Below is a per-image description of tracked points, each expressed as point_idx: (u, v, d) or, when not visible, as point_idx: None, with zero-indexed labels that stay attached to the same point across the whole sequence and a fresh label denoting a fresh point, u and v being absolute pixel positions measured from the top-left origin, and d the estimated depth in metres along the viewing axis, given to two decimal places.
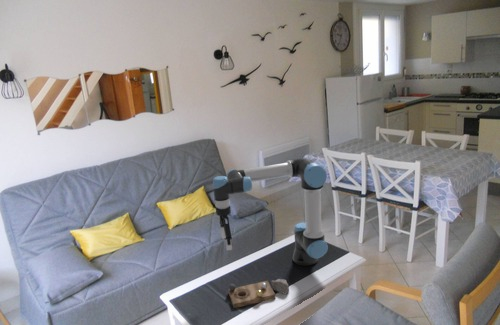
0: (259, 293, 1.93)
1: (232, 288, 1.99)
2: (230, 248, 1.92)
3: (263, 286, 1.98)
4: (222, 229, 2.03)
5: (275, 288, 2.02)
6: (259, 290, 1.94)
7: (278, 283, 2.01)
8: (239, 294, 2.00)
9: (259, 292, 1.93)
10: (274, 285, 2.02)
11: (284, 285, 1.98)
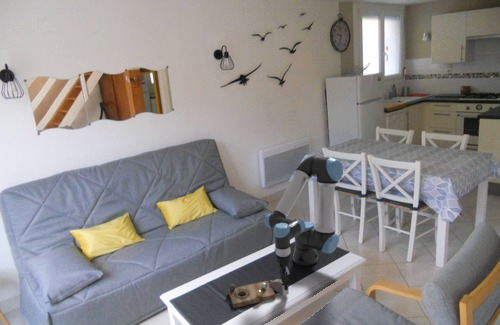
0: (259, 293, 1.93)
1: (232, 288, 1.99)
2: (287, 293, 1.96)
3: (263, 286, 1.98)
4: (284, 285, 1.95)
5: (273, 288, 2.01)
6: (259, 290, 1.94)
7: (276, 283, 2.00)
8: (239, 294, 2.00)
9: (259, 292, 1.93)
10: (272, 285, 2.02)
11: None
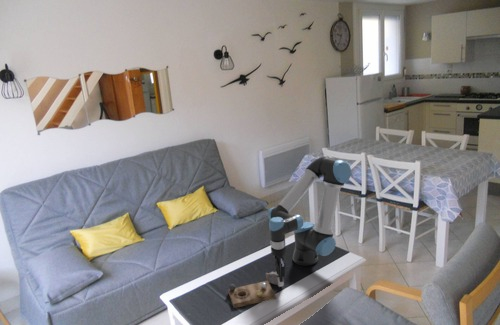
0: (259, 293, 1.93)
1: (232, 288, 1.99)
2: (282, 284, 2.03)
3: (263, 286, 1.98)
4: None
5: (269, 280, 2.09)
6: (259, 290, 1.94)
7: (272, 275, 2.08)
8: (239, 294, 2.00)
9: (259, 292, 1.93)
10: (268, 277, 2.09)
11: None
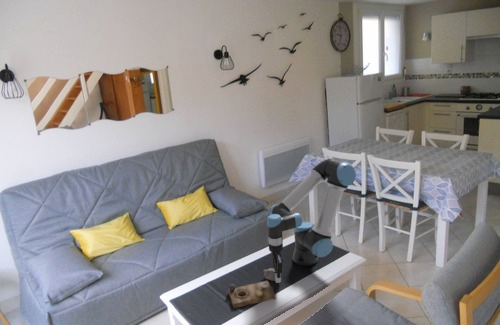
0: (259, 293, 1.93)
1: (232, 288, 1.99)
2: (279, 281, 2.07)
3: (263, 286, 1.98)
4: (276, 273, 2.06)
5: (267, 277, 2.12)
6: (259, 290, 1.94)
7: (270, 272, 2.11)
8: (239, 294, 2.00)
9: (259, 292, 1.93)
10: (266, 274, 2.12)
11: None
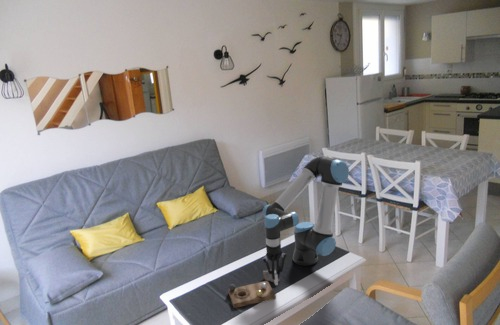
0: (259, 293, 1.93)
1: (232, 288, 1.99)
2: (274, 283, 2.01)
3: (263, 286, 1.98)
4: None
5: (266, 278, 2.11)
6: (259, 290, 1.94)
7: None
8: (239, 294, 2.00)
9: (259, 292, 1.93)
10: (265, 275, 2.12)
11: None
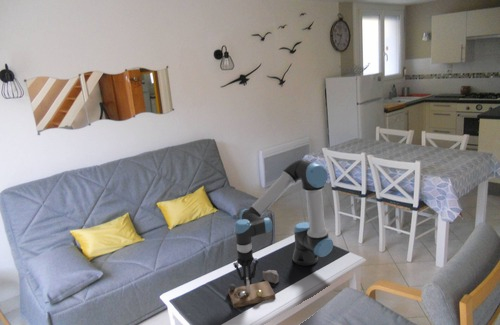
0: (259, 293, 1.93)
1: (232, 288, 1.99)
2: (247, 289, 1.97)
3: (241, 296, 1.97)
4: None
5: (266, 278, 2.11)
6: (259, 290, 1.94)
7: (269, 273, 2.10)
8: None
9: (259, 292, 1.93)
10: (265, 276, 2.11)
11: (274, 275, 2.08)
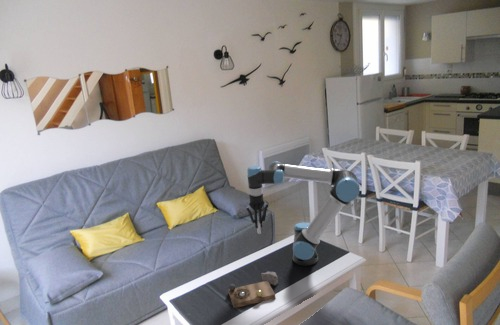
0: (259, 293, 1.93)
1: (232, 288, 1.99)
2: (258, 232, 2.14)
3: None
4: None
5: (265, 280, 2.09)
6: (259, 290, 1.94)
7: (268, 275, 2.08)
8: None
9: (259, 292, 1.93)
10: (264, 277, 2.10)
11: (273, 277, 2.06)
